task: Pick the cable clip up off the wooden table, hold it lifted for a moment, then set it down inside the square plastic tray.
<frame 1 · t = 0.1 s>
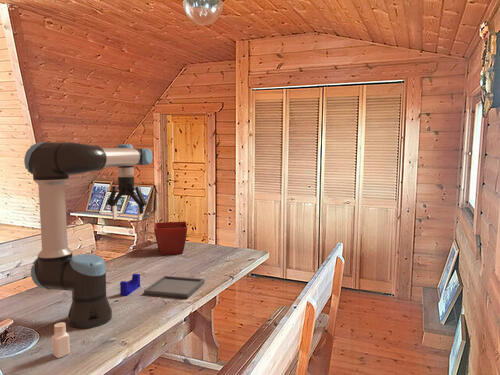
hand: (127, 219, 194), 28 cm above the table, tool pointing down, fingers open, 13 cm apart
tray: (175, 288, 177), on the table
salt shaker: (61, 355, 121), on the table
cable clip: (129, 291, 175), on the table
plant pot: (171, 252, 240), on the table
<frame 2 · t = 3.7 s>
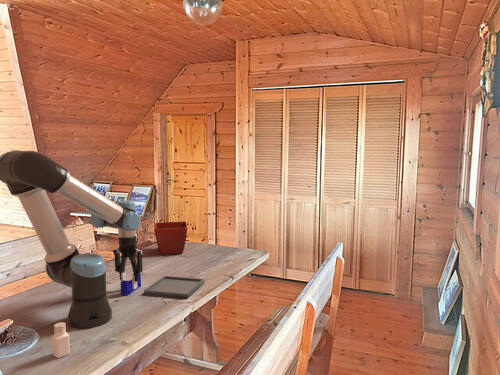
hand: (129, 287, 175), 1 cm above the table, tool pointing down, fingers closed on cable clip, 5 cm apart
cable clip: (129, 290, 175), on the table, touching gripper
everything else where it was.
when the fingers open (3 cm above the table, at t = 10.6 s): cable clip stays where it is, resting on tray.
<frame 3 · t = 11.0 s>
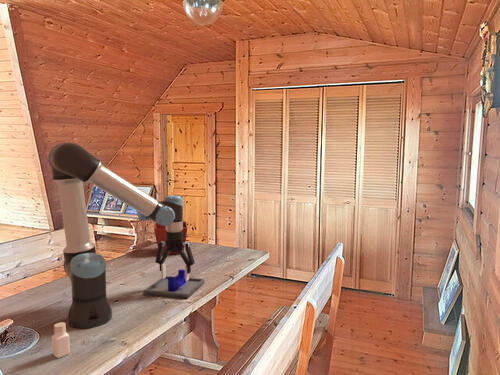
hand: (175, 279, 177), 4 cm above the table, tool pointing down, fingers open, 10 cm apart
cable clip: (175, 286, 178), point 1 cm above the table, touching tray
everything else where it was.
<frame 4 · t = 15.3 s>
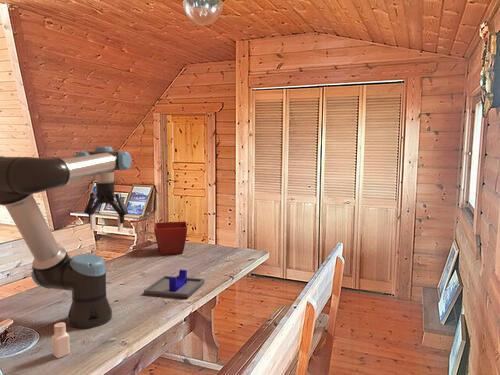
hand: (106, 230, 175), 27 cm above the table, tool pointing down, fingers open, 13 cm apart
nothing on the table moved.
at the end: cable clip inside the target area on the tray (0.7 cm from its centre), point 0.8 cm above the tray's base; cable clip tilted 0°; the gripper is holding nothing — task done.
